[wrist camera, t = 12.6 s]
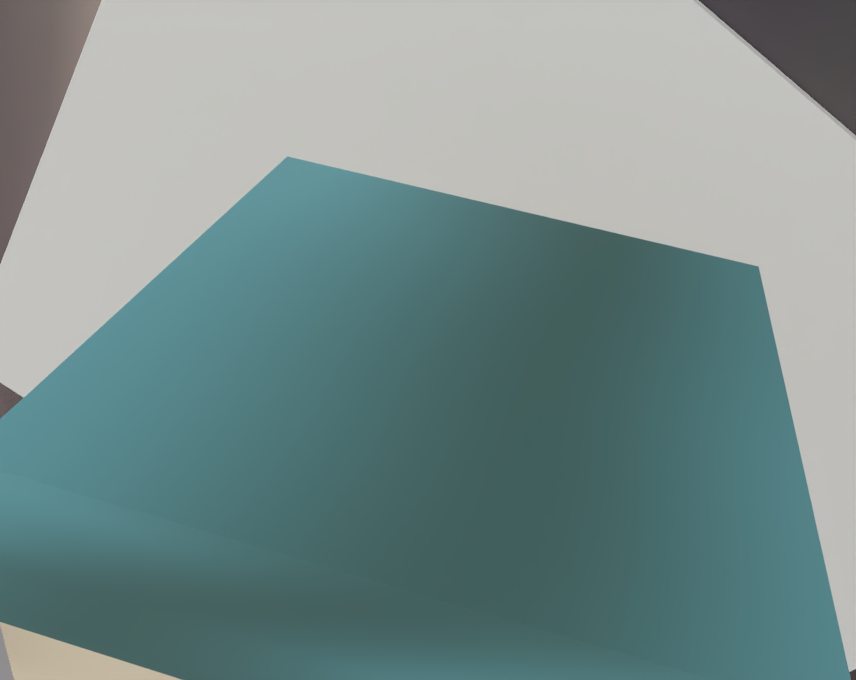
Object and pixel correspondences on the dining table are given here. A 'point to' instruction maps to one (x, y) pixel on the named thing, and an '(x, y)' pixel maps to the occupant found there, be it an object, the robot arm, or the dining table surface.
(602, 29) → the grey mat
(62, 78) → the dining table surface
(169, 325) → the beige tall box
